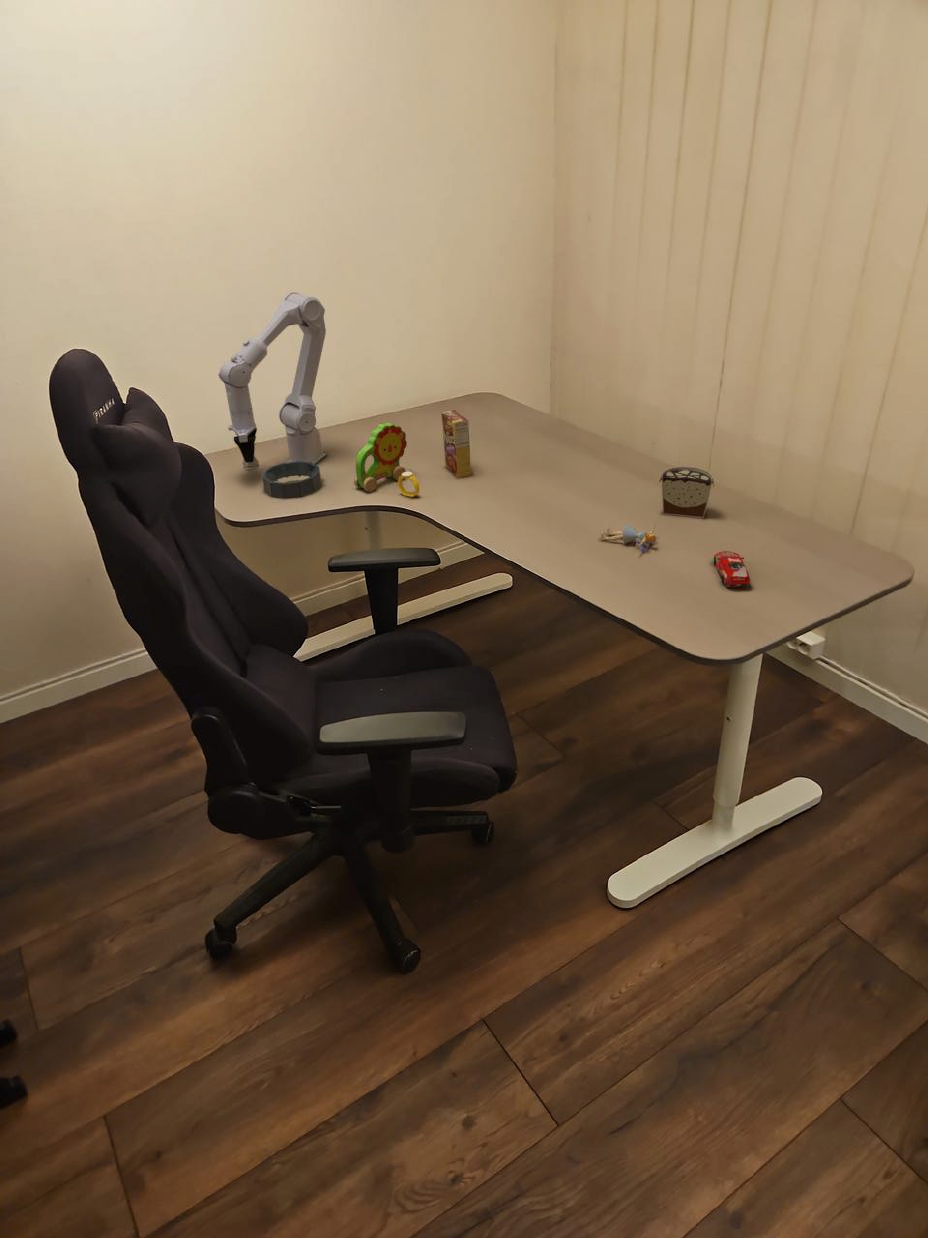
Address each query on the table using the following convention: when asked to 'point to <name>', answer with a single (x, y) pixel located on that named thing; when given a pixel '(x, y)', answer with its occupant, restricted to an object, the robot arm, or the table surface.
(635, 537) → the fairy figurine
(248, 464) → the rook chess piece
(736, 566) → the race car
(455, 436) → the candy box
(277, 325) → the robot arm
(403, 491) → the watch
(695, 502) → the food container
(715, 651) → the table surface
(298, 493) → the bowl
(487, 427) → the table surface
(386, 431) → the toy lion
